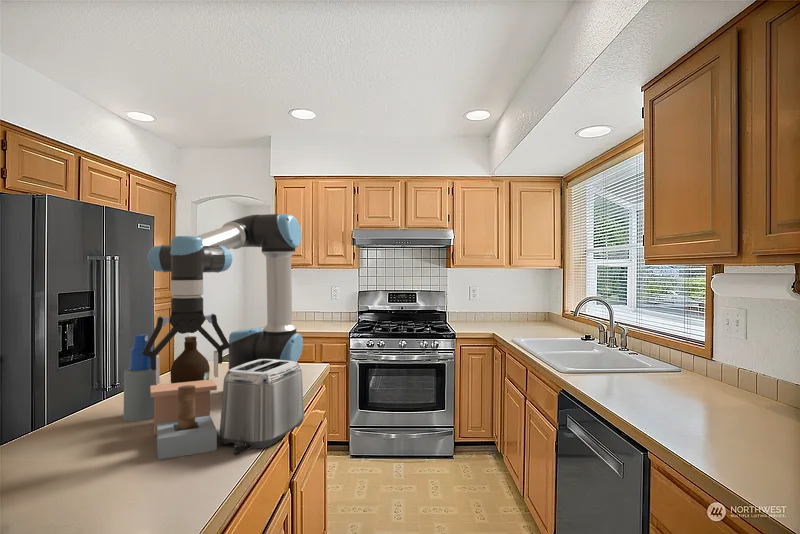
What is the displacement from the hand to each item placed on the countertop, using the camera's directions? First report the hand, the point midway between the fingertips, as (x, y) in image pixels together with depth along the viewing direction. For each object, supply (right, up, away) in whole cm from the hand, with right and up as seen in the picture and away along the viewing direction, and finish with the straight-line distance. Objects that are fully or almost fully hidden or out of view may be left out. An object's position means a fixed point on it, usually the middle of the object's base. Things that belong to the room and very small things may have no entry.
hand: (187, 379), depth 120 cm
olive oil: (-8, -17, +19) cm, 26 cm away
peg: (0, -17, 0) cm, 17 cm away
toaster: (+17, -17, +8) cm, 25 cm away
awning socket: (-2, -17, +3) cm, 17 cm away
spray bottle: (-25, -17, +23) cm, 38 cm away
